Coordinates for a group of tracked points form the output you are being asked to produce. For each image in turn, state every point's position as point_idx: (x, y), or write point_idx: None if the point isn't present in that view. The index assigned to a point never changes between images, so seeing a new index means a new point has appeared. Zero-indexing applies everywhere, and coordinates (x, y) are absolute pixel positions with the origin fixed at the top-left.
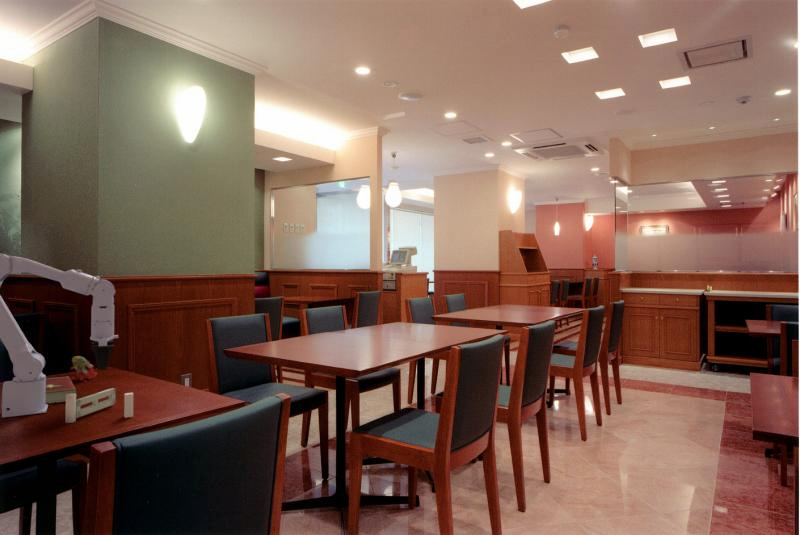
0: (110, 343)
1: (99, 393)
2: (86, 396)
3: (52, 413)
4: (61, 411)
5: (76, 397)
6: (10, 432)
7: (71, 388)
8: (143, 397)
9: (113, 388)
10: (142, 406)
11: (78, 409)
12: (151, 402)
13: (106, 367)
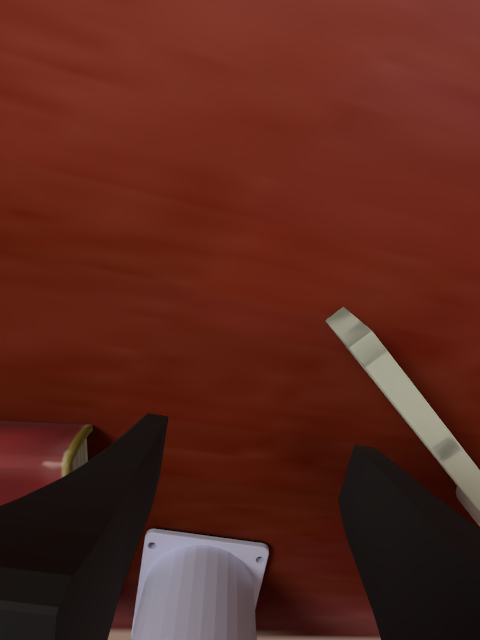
0: (79, 610)
1: (445, 428)
2: (465, 490)
3: (287, 523)
4: (277, 495)
5: (88, 431)
6: None
7: (49, 478)
8: (250, 130)
9: (366, 341)
10: (455, 194)
11: None
12: (406, 126)
13: (384, 459)
